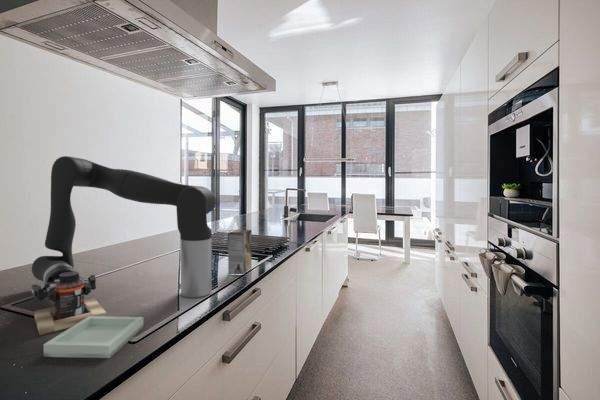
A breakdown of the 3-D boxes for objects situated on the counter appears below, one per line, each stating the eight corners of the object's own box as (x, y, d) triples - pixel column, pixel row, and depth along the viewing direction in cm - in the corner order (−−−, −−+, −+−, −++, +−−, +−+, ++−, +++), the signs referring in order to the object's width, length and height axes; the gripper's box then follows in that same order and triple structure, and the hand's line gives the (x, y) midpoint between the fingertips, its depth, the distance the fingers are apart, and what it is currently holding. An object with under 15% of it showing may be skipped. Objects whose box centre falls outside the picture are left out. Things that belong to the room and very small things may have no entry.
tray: (89, 326, 74) (89, 316, 74) (143, 327, 74) (143, 317, 74) (43, 356, 61) (43, 344, 61) (109, 358, 61) (109, 345, 61)
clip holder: (34, 316, 79) (34, 311, 79) (94, 303, 88) (94, 298, 88) (39, 335, 69) (39, 328, 69) (106, 318, 79) (106, 312, 78)
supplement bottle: (87, 317, 79) (86, 273, 78) (58, 325, 74) (56, 278, 74) (81, 310, 83) (79, 268, 82) (52, 317, 78) (51, 273, 78)
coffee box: (236, 268, 125) (236, 229, 124) (251, 269, 124) (252, 229, 123) (227, 275, 116) (227, 232, 115) (244, 276, 115) (244, 233, 114)
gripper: (27, 270, 83) (32, 285, 71) (90, 261, 93) (104, 273, 81) (28, 297, 84) (33, 317, 72) (91, 286, 94) (105, 301, 82)
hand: (71, 294), depth 77 cm, fingers closed on supplement bottle, 6 cm apart
